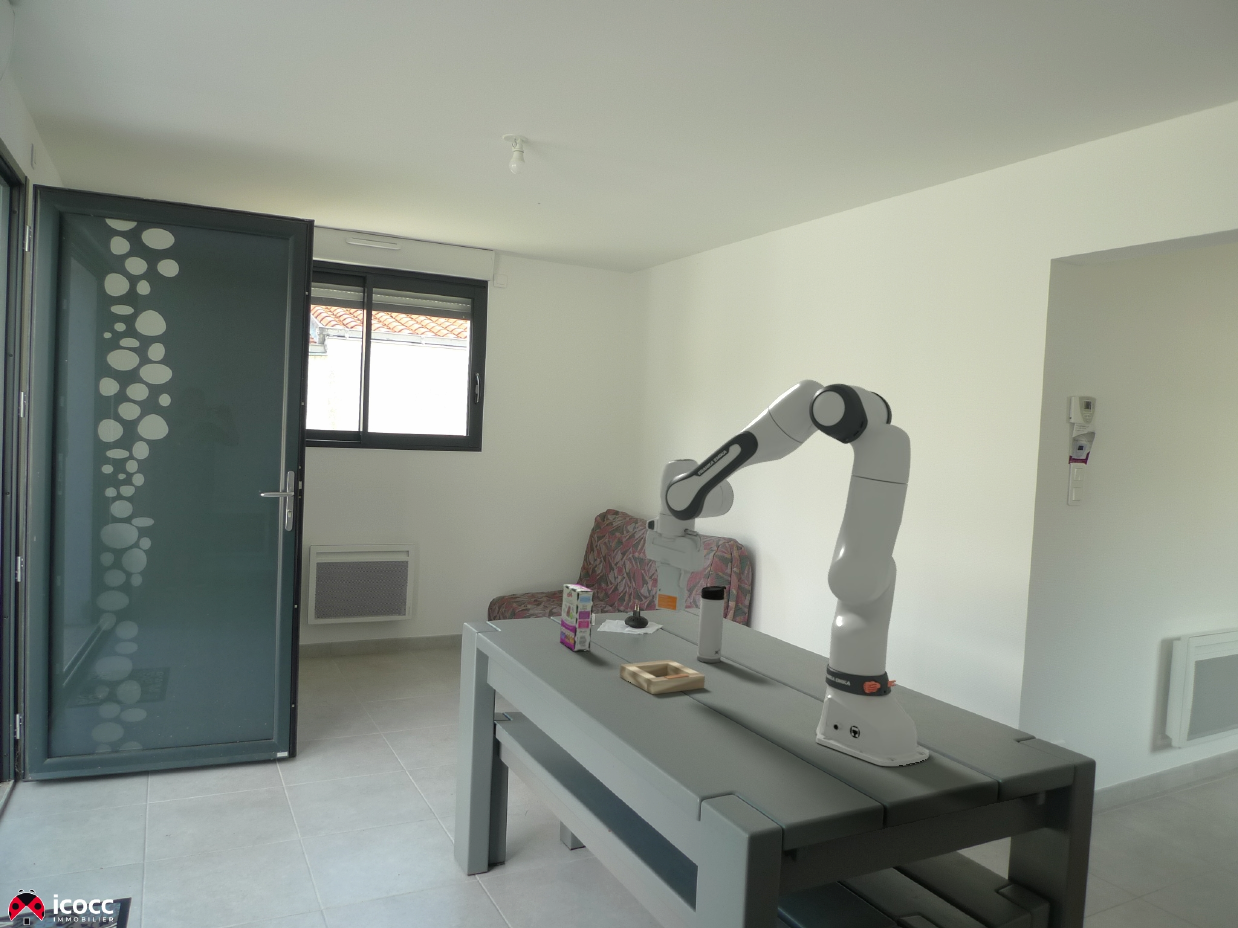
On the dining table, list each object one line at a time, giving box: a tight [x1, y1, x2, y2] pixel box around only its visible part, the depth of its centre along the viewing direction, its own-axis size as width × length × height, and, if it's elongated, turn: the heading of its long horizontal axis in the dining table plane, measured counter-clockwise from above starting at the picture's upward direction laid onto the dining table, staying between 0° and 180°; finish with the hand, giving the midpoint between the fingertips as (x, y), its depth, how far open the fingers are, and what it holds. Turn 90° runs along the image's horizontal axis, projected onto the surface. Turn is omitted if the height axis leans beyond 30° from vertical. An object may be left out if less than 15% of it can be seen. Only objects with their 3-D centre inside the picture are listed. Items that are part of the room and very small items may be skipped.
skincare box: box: [655, 559, 687, 614], centre depth 204 cm, size 6×4×12 cm
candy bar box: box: [559, 583, 595, 652], centre depth 234 cm, size 11×5×16 cm, turn 25°
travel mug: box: [696, 585, 727, 664], centre depth 228 cm, size 6×7×20 cm
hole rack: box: [619, 659, 706, 695], centre depth 205 cm, size 15×15×3 cm
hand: (671, 583), depth 204 cm, fingers closed on skincare box, 7 cm apart
